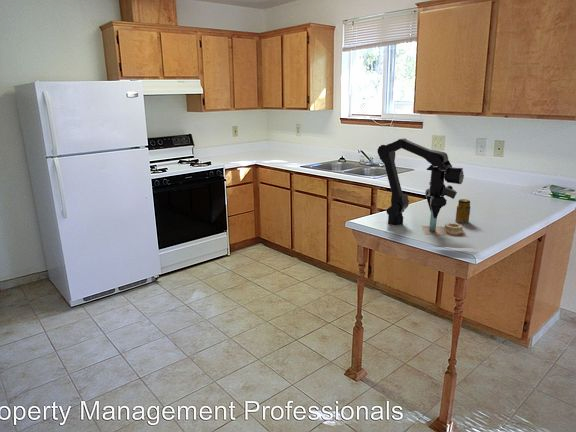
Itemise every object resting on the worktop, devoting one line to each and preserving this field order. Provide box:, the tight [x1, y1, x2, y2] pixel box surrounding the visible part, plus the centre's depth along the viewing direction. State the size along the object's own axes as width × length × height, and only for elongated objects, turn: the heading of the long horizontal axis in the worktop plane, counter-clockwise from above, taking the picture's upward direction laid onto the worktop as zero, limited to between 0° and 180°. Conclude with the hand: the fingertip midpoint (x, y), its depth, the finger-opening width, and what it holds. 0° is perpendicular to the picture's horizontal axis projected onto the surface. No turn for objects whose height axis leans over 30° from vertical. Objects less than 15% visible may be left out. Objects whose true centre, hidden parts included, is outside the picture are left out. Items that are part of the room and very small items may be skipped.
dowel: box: [428, 209, 438, 232], centre depth 193 cm, size 3×3×10 cm
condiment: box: [455, 198, 471, 225], centre depth 206 cm, size 7×8×12 cm
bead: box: [444, 222, 464, 234], centre depth 193 cm, size 7×7×3 cm
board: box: [421, 225, 468, 238], centre depth 195 cm, size 18×13×1 cm
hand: (433, 215), depth 193 cm, fingers open, 9 cm apart
